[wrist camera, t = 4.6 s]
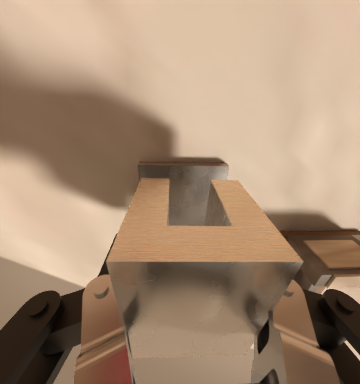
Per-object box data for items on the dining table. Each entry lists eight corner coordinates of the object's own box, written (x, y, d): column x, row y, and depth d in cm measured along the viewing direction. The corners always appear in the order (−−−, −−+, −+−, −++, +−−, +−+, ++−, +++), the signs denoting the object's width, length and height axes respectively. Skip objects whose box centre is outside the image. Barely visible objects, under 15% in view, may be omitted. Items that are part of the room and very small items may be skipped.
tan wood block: (141, 178, 9) (106, 261, 4) (238, 180, 10) (303, 261, 5) (147, 260, 13) (131, 358, 8) (218, 260, 13) (245, 354, 8)
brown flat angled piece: (139, 161, 13) (138, 165, 12) (226, 162, 13) (229, 166, 13) (147, 236, 17) (145, 242, 16) (213, 235, 17) (215, 241, 16)
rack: (279, 230, 17) (319, 275, 13) (360, 229, 18) (425, 273, 13) (250, 300, 24) (269, 348, 19) (310, 298, 24) (343, 344, 19)
